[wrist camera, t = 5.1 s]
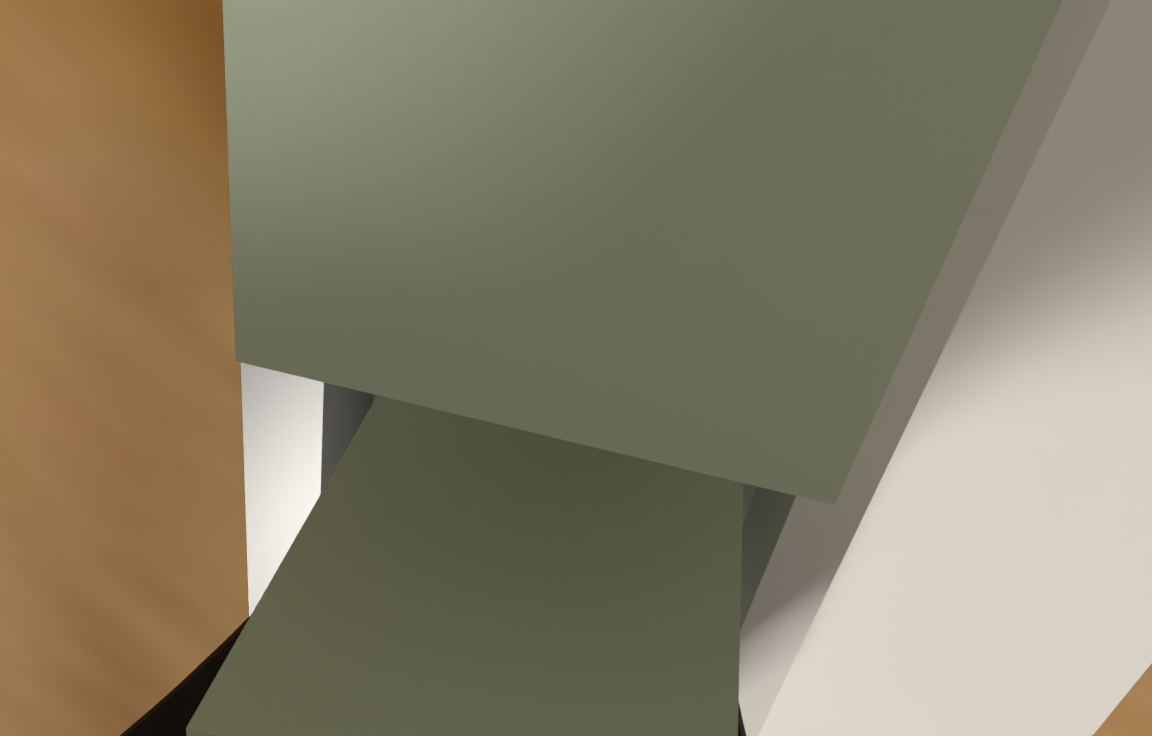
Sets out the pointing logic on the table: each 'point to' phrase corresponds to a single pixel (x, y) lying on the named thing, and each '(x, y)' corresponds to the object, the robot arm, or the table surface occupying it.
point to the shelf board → (992, 451)
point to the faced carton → (614, 208)
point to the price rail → (289, 458)
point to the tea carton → (493, 594)
